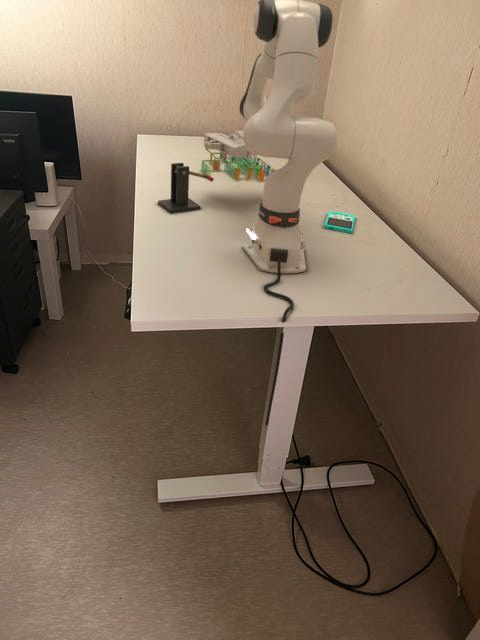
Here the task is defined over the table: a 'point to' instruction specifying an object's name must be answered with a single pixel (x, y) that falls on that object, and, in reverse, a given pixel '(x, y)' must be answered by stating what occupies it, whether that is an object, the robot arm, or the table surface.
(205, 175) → the lever
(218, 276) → the table surface
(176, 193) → the bracket
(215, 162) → the house model
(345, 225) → the handheld game console
